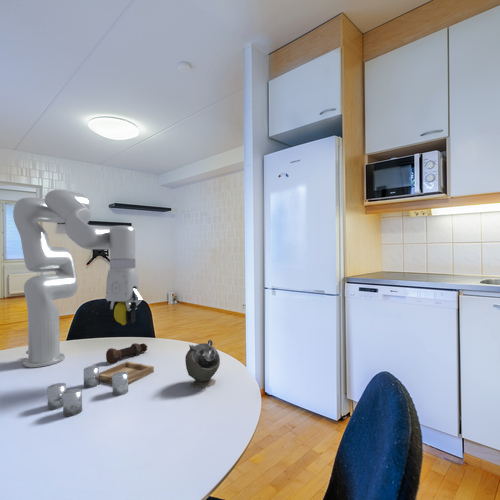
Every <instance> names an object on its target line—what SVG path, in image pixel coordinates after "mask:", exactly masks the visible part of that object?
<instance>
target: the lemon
mask: <svg viewBox="0 0 500 500" xmlns="http://www.w3.org/2000/svg"><path fill="white" fill-rule="evenodd" d="M131 304H132V303H130V305H131ZM126 311H128V310H127V306H126V302H119V303H118V304H117V305H116V306H115V309H114V317H115V320H116V321H117V323H119V324H121V325H122V326H125V325H127V324H126Z"/></svg>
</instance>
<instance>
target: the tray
mask: <svg viewBox="0 0 500 500" xmlns="http://www.w3.org/2000/svg"><path fill="white" fill-rule="evenodd" d="M154 370H155V367H154V366H153V365H150V364H149V365H147V364H142V363H137V362H132V361H125V362H122V363H120V364H118V365H115V366H112V367H110V368H108V369H105V370H103V371H101V372H100V371H99V382H102V383H106V384H110V385H111V384H112V375H113V374H115V373H118V372H127V373H128V386H129V385H130V384H132V383H134V382H137V381H138V380H140V379H143V378H144V377H147V376H149V375H150V374H153V373H155V371H154Z"/></svg>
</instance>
